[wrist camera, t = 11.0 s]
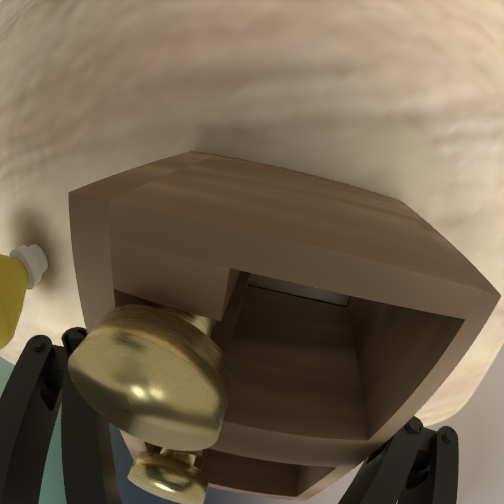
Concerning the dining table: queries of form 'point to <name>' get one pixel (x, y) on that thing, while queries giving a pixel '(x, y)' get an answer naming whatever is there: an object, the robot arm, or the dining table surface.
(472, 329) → the keyhole block
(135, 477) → the post
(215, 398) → the post
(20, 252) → the light bulb
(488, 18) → the dining table surface
